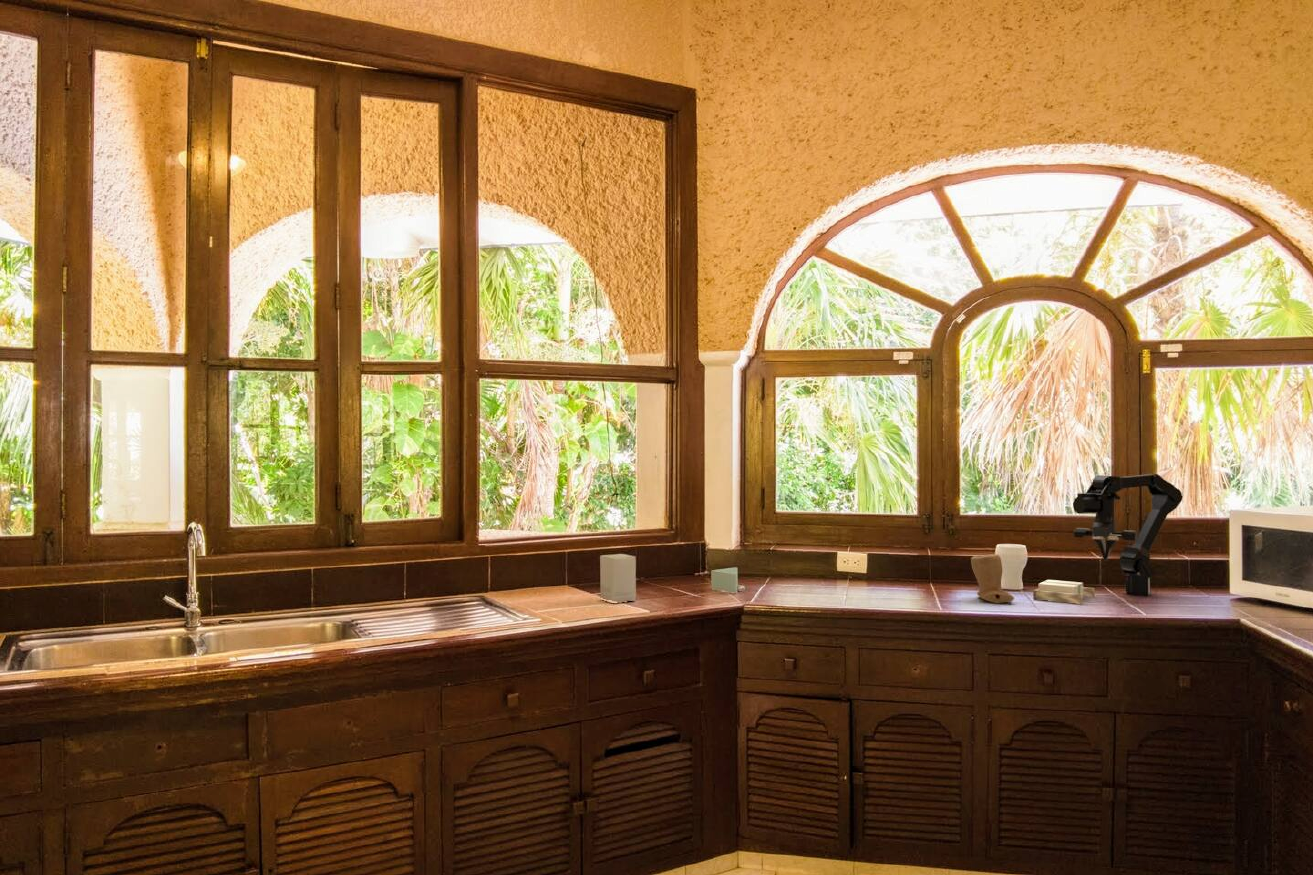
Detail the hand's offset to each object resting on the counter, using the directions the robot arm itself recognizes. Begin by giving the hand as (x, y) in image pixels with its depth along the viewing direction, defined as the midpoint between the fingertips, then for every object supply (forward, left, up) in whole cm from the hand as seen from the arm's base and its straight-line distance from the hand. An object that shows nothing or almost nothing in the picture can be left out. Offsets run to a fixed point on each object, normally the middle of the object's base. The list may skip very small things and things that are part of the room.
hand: (1105, 559), depth 298 cm
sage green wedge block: (+106, +63, -13) cm, 124 cm away
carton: (+11, +13, -12) cm, 21 cm away
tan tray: (+9, +13, -12) cm, 20 cm away
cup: (+30, +2, -12) cm, 32 cm away
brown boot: (+28, +30, -12) cm, 43 cm away
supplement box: (+125, +104, -12) cm, 163 cm away
